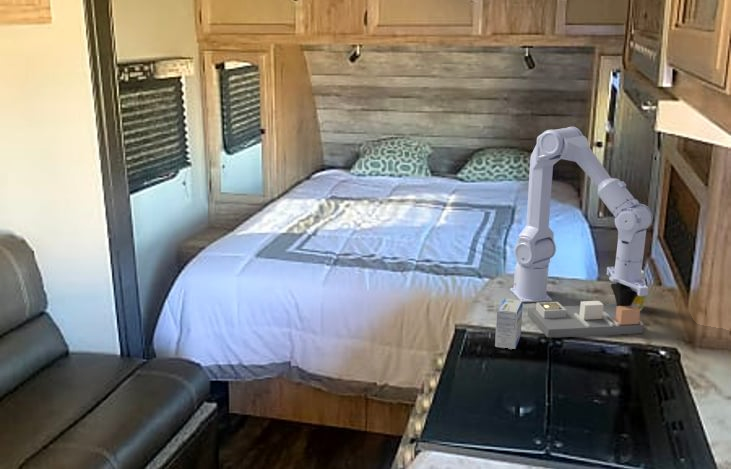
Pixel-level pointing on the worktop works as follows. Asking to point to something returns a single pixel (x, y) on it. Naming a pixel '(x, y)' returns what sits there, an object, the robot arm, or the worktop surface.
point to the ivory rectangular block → (591, 310)
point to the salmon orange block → (627, 315)
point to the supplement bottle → (639, 299)
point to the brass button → (550, 306)
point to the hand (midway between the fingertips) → (622, 314)
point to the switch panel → (579, 322)
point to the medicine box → (508, 324)
